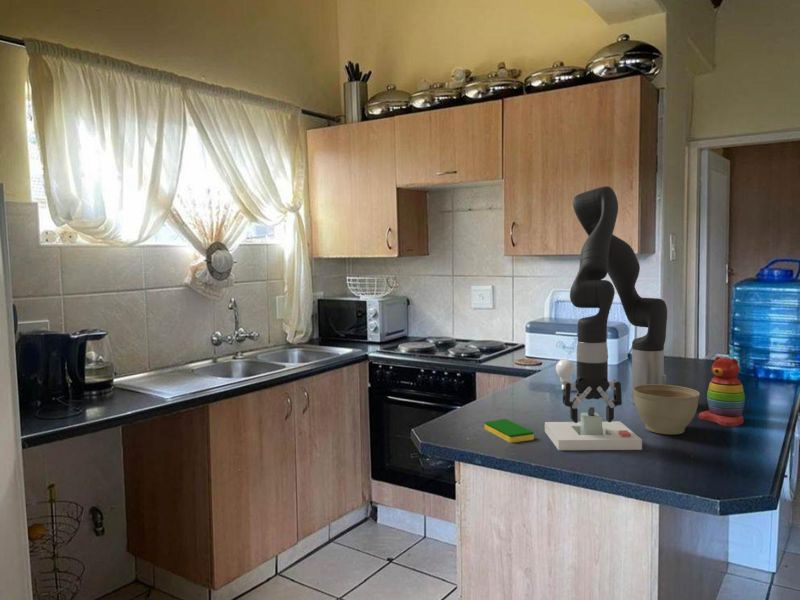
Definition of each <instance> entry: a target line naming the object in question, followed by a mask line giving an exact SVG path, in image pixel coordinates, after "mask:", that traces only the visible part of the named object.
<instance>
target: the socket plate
mask: <svg viewBox="0 0 800 600" xmlns="http://www.w3.org/2000/svg"><path fill="white" fill-rule="evenodd" d="M544 433H545V434H546V435H547V436H548V438H549V439H550V440H551V442H552V443H553V445H554V446H555V447H556V449H557V451H608V450H609V451H618V450H619V451H632V450H633V451H635V450H636V451H637V450H639V451H640V450H641V451H642V450H643V439H642V438H641V437H640V436H639V435H637V434H636V433H635V432H634V431H633V430H631V429H630V428H629V427H628V426H626V425H625V424H624V423H622V421H620V420H619V421H614V420H612V422H607V421H602V435H580V421H578V423H574V422H573V421H545V422H544Z"/></svg>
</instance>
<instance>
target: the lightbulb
mask: <svg viewBox="0 0 800 600" xmlns="http://www.w3.org/2000/svg"><path fill="white" fill-rule="evenodd" d="M575 370H576V369H575V365H574V363H573V362H572V361H571V360H569V359H566V358H565V359H560V360H558V362H557V363H556V365H555V371H556V373H557V376H558V377H559V381H560V384H561V385H560V387H561V390H562V391H563V387H564V382H565V381H567V382H571V378H572V376H573V375H574V373H575V372H576V371H575Z"/></svg>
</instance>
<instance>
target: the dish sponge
mask: <svg viewBox="0 0 800 600" xmlns="http://www.w3.org/2000/svg"><path fill="white" fill-rule="evenodd" d="M484 430H486V431H488V432H489V433H491V434H493V435H495V436H497V437H499V438H501V439H503V440H504V441H506V442H507V443H509V444H510V443H519V442H528V441H533V440H534V439H535V438H534V436H535V435H534V433H535V432H534V431H532V430H530V429H529V428H526V427H523V426H522V425H520V424H518V423H515V422H514V421H511V420H510V419H508V418H507V419H496V420H489V421H485V422H484Z"/></svg>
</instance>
